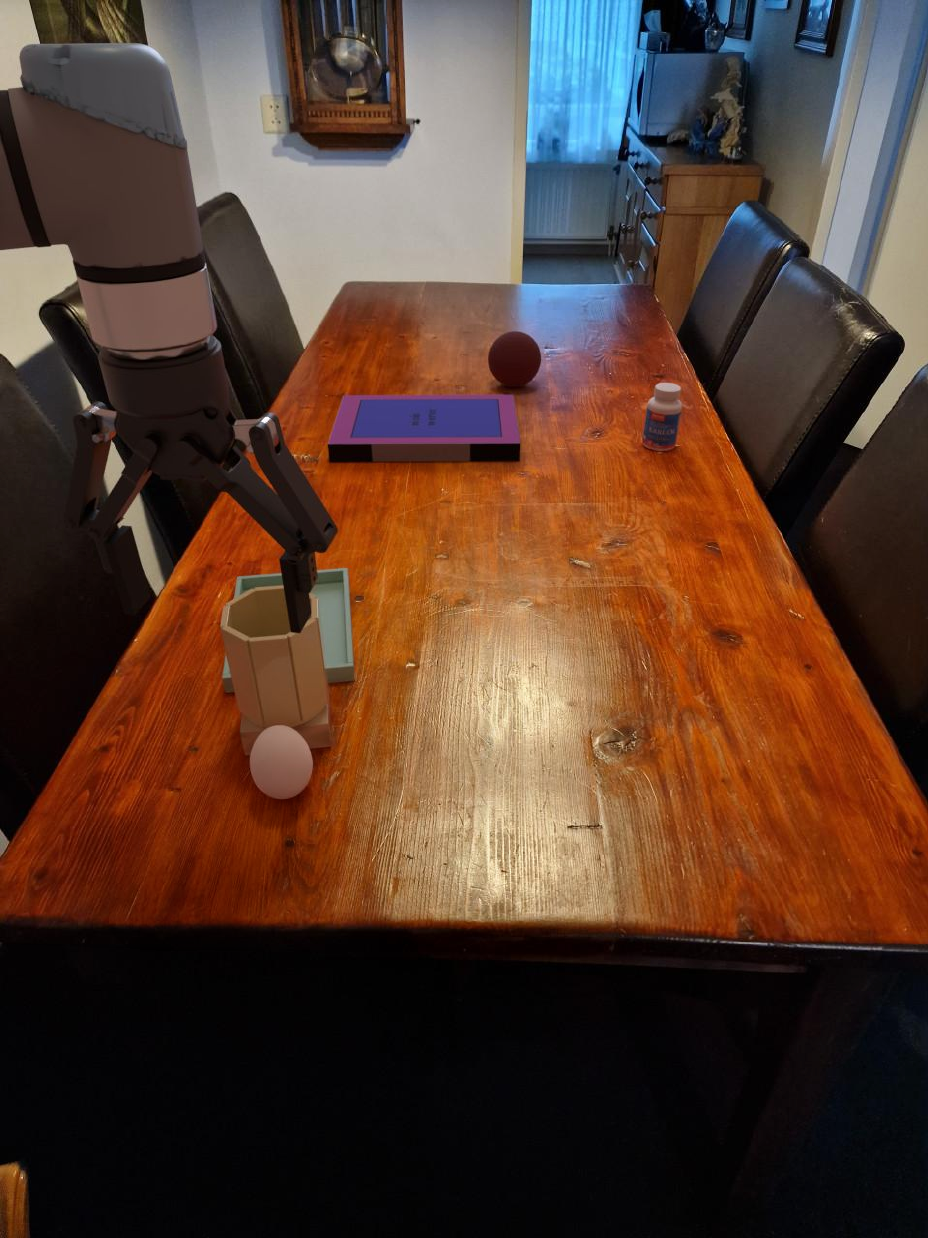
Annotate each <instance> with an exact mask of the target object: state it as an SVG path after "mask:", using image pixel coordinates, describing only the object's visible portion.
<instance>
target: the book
mask: <svg viewBox="0 0 928 1238" xmlns="http://www.w3.org/2000/svg"><path fill="white" fill-rule="evenodd" d="M520 437H521V436H520V429H519V423H518V417H517V410H516V403H515V396H514V394H399V395H398V394H376V395H375V394H365V395H364V394H357V395H356V394H355V395H353V394H352V395H351V394H349V395H347V394H344V395H342V398H341V402H340V405H339V408H338V410H337V414H336V417H335V420H334V423H333V426H332V429H331V432H330V435H329V438H328V441H327V452H328V461H329V462H328V463H389V462H390V463H397V462H398V463H404V462H405V463H407V462H410V463H413V462H415V463H417V462H420V463H422V462H423V463H424V462H425V463H426V462H429V463H430V462H431V463H432V462H434V463H435V462H437V463H438V462H439V463H440V462H441V463H442V462H521V438H520Z"/></svg>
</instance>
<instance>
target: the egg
mask: <svg viewBox="0 0 928 1238" xmlns="http://www.w3.org/2000/svg"><path fill="white" fill-rule="evenodd" d="M249 767H250V774H251V778H252V779H253V783H254V784H255V785H256V787H257V788H258V789H259V790H260V791H261V792H262V793H263V794H265V795H266V796H268V797H270V798H272V799H276V800H287V799H291V798H294V797H295V796H297V795H299V794H300V793H302V791H303V790H305V788H306V787H307V786H308V785H309V782H310V781H311V778H312V774H313V768H314V761H313V756H312V752H311V749H309V746H308V744H307V743H306V741H305V740H304V739H303V738H302V736H301V735H300V734H299V733H298V732H297V731H295V730H294V729H292V728H290V727H288V726H284V725H275V726H272V727H269V728H267V729H266V730H264V731H263V732H262V733H261V734H260V735H259V736H258V738H257V739H256V741H255V743H254V746H253V748H252V751H251V755H249Z"/></svg>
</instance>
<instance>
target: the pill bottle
mask: <svg viewBox="0 0 928 1238" xmlns="http://www.w3.org/2000/svg"><path fill="white" fill-rule="evenodd" d="M681 391H682V388H681V386H680V385H678V384H676V383H672V382H659V383H657V384H656V385H655V386H654V390H653V397H651V398H649V400H648V402H647V406H646V412H645V418H644V425H643V432H642V440H641V443H642V445H643V447H645V448H646V449H648V450H651V451H655V452H656V451H657V452H666V451H671V450H673V449H674V448H675V446H676V444H677V439H678V433H679V427H680V421H681V416H682V410H683V403H682V401H681V400H680V399H679V398H680V397H681Z"/></svg>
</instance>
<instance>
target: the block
mask: <svg viewBox="0 0 928 1238" xmlns="http://www.w3.org/2000/svg"><path fill="white" fill-rule="evenodd" d="M331 718H332V717H331V689H330V687H329V701H328V703H327V704H326V706H325V707H324V709H323V710H322V711H321V712H320V713H319V714H318V715H317V716H316V717H314V718H313V719H311V720H310V721H308V722H306V723H303V724H301V725H298V726H295V727H290V728H292V729H294V730H295V731H297V732H298V733H299V734H300V735H301V736H302V738H303V739H304V740H305V741H306V743H307V744H308V746H309V749H310V750H313V749H321V748H331V747H332V725H331V720H332V719H331ZM239 727H240V728H239V735H240V740H241V745H242V748H243V753H244V756H250V755H251V751H252V748H253V746H254V743H255V741H256V739H257V738H258V736H259V735H260V734H261V733H262V732H263V731H264V730H266V729H267V728H265V727H261V726H258V725H256V724H254V723H252V722H251V721H250V720H248V719H247V718H246V716H245V715H244V714H242V713H241V719H240V726H239Z"/></svg>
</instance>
